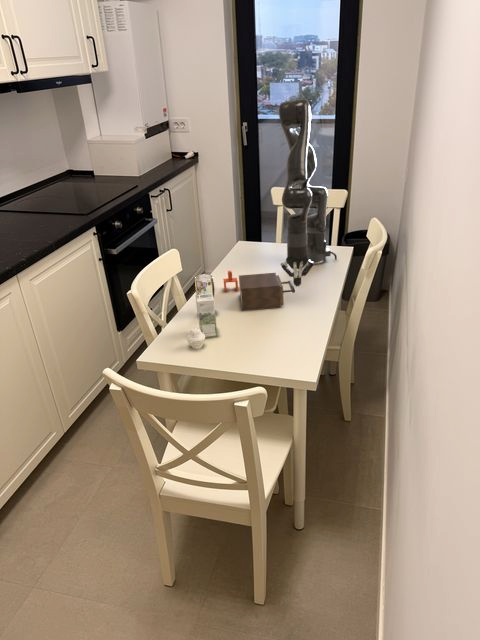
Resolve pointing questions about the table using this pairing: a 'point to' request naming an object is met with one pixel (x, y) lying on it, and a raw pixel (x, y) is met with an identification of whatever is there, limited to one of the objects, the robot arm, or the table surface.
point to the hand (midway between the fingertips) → (297, 285)
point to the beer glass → (205, 285)
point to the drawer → (285, 290)
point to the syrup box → (206, 314)
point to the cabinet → (259, 291)
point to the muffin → (196, 338)
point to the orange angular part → (230, 280)
